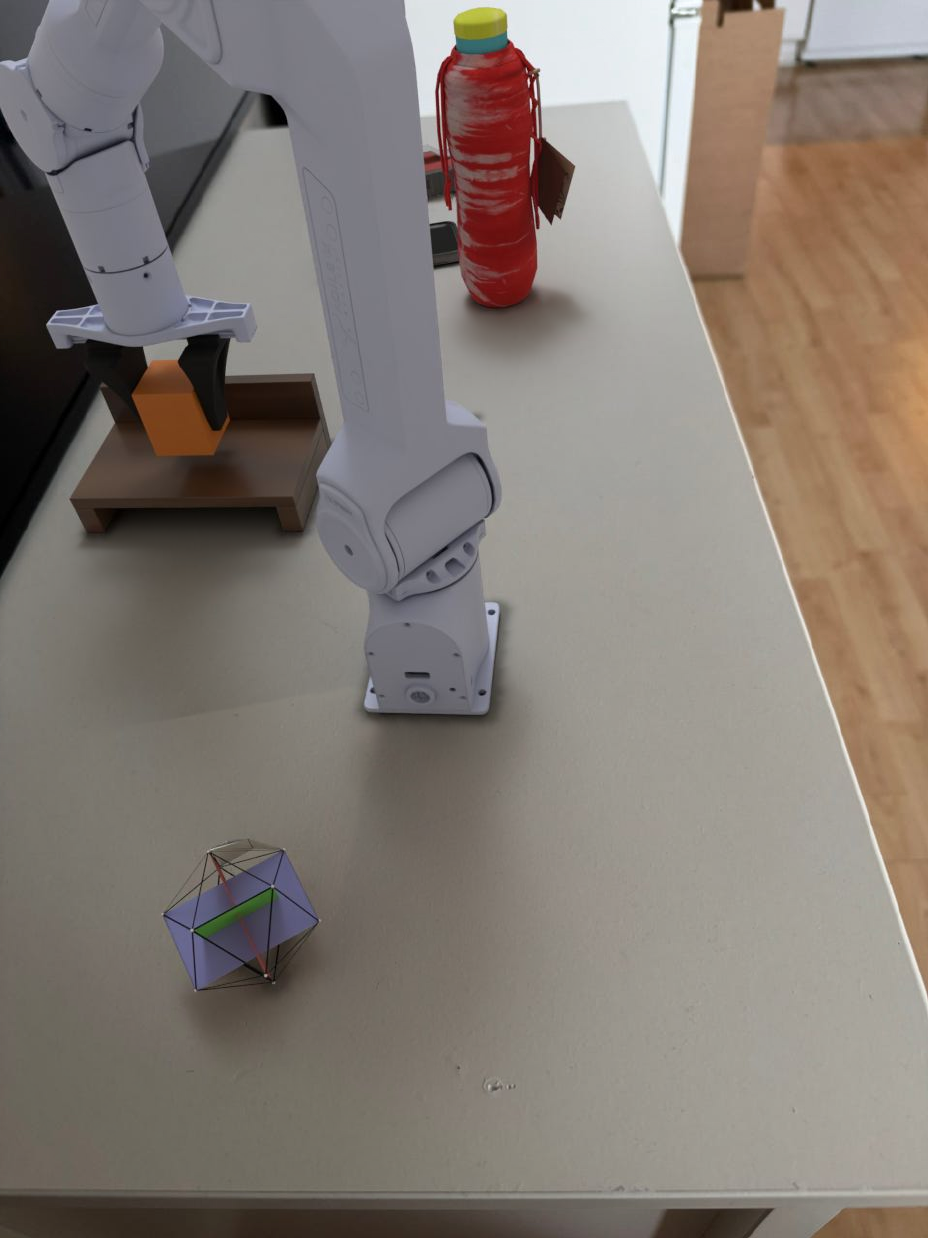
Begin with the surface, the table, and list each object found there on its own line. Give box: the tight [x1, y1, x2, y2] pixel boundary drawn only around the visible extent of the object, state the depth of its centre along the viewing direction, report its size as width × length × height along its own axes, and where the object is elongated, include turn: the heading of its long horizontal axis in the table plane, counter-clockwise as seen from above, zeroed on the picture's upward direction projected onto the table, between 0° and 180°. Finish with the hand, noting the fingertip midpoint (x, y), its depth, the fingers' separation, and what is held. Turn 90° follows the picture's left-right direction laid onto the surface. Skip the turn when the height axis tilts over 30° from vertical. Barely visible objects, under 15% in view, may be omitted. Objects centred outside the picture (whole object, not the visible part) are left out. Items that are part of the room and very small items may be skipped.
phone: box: [429, 220, 459, 266], centre depth 103 cm, size 8×1×15 cm
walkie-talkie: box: [423, 144, 455, 198], centre depth 114 cm, size 9×4×20 cm
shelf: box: [69, 372, 332, 533], centre depth 76 cm, size 11×18×7 cm, turn 84°
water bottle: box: [434, 6, 576, 308], centre depth 87 cm, size 12×8×25 cm, turn 91°
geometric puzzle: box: [160, 838, 322, 993], centre depth 48 cm, size 7×7×8 cm
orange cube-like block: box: [132, 359, 230, 456], centre depth 72 cm, size 5×5×6 cm
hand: (188, 423), depth 73 cm, fingers closed on orange cube-like block, 4 cm apart
